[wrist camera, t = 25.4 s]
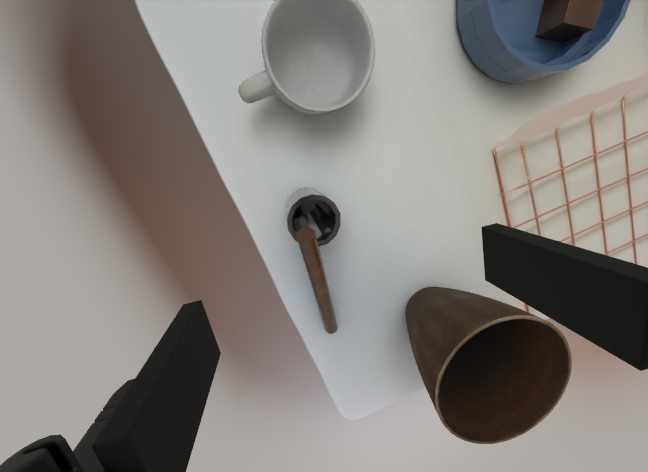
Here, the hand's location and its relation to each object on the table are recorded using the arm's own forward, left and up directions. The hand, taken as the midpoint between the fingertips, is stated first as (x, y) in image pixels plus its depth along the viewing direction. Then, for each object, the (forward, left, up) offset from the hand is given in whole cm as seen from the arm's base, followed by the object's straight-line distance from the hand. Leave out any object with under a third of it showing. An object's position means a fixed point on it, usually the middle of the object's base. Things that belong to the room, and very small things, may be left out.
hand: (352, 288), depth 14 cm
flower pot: (+24, +3, -27) cm, 36 cm away
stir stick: (0, -1, -15) cm, 15 cm away
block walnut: (+4, +38, -26) cm, 46 cm away
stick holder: (0, 0, -26) cm, 26 cm away
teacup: (-12, +10, -27) cm, 31 cm away
